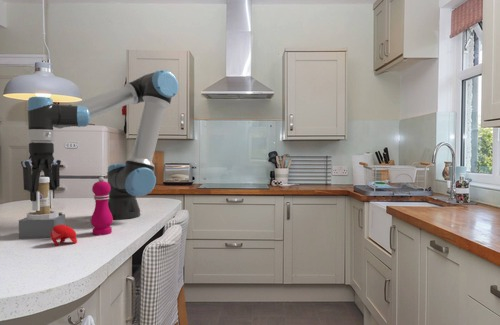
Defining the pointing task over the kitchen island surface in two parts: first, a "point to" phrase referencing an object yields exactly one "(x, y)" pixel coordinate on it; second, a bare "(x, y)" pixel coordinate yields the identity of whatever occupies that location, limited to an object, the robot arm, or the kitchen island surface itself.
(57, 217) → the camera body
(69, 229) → the red animal figurine
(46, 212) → the sprinkles bottle
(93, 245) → the kitchen island surface
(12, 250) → the kitchen island surface
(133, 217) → the robot arm
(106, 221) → the pepper mill
